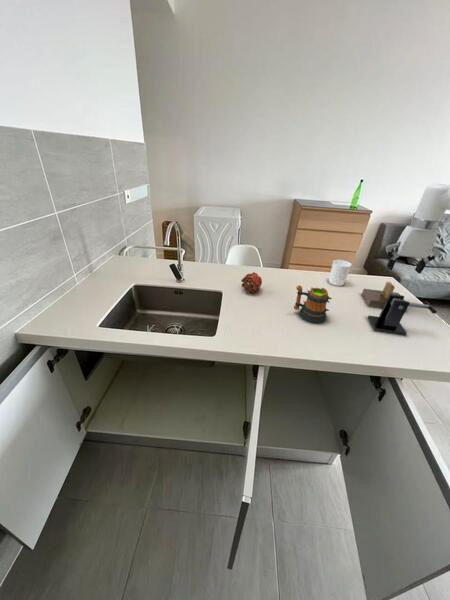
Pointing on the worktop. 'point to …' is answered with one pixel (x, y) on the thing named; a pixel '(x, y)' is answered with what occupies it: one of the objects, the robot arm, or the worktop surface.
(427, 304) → the door lever
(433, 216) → the robot arm
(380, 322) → the handle bracket
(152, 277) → the worktop surface
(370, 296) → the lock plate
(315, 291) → the mug
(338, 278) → the white cup
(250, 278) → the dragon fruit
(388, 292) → the tall mustard panel
